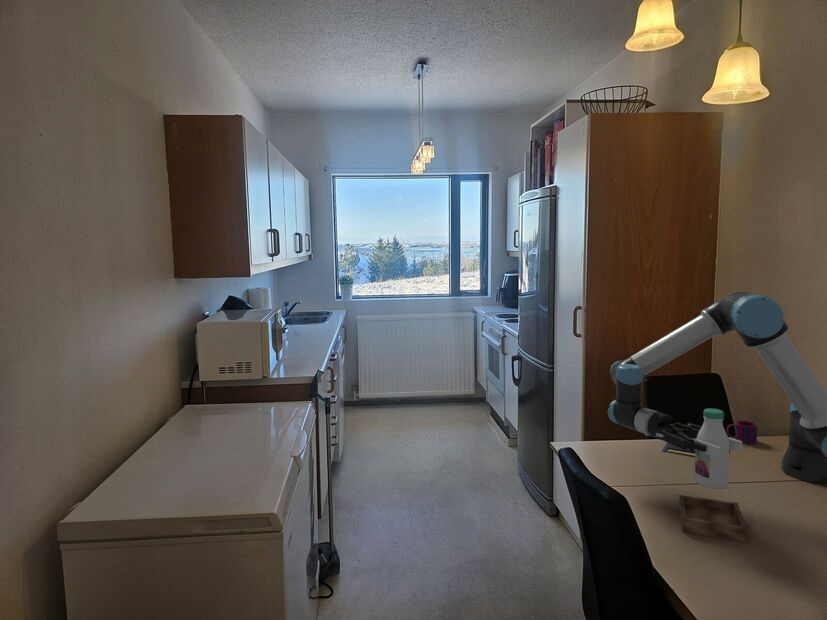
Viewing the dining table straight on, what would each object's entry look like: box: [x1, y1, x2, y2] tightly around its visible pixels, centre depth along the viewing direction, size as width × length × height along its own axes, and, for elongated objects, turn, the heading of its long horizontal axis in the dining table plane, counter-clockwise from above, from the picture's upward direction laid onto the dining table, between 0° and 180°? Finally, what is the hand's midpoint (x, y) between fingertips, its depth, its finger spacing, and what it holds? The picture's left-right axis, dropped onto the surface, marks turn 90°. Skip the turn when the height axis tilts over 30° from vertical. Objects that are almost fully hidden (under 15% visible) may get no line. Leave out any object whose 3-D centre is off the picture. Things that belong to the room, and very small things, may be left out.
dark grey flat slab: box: [661, 440, 731, 458], centre depth 184 cm, size 20×2×15 cm
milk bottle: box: [694, 408, 730, 490], centre depth 136 cm, size 8×8×20 cm
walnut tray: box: [678, 494, 748, 543], centre depth 135 cm, size 14×14×4 cm
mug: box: [726, 420, 758, 445], centre depth 190 cm, size 7×10×7 cm
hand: (730, 449), depth 131 cm, fingers closed on milk bottle, 8 cm apart
